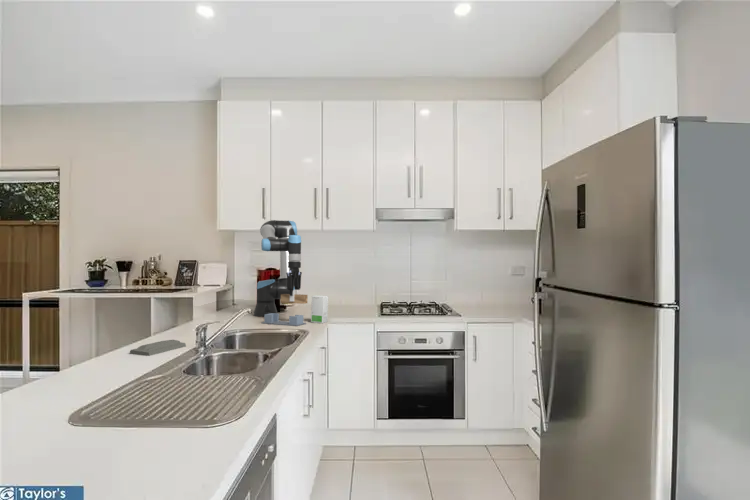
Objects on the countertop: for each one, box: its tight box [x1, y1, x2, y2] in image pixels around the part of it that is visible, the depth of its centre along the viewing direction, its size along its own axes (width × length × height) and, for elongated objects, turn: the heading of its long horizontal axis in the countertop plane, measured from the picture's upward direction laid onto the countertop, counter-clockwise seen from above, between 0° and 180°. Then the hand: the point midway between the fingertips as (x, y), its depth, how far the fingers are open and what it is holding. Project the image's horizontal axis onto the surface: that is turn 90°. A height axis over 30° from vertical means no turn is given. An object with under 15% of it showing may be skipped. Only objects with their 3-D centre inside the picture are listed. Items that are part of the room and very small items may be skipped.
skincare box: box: [310, 295, 329, 324], centre depth 266 cm, size 8×7×16 cm
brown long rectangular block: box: [280, 293, 309, 305], centre depth 264 cm, size 4×16×5 cm, turn 69°
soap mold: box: [128, 339, 187, 357], centre depth 182 cm, size 10×20×4 cm, turn 161°
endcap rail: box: [261, 312, 307, 327], centre depth 258 cm, size 10×24×5 cm, turn 67°
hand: (293, 300), depth 264 cm, fingers closed on brown long rectangular block, 3 cm apart
